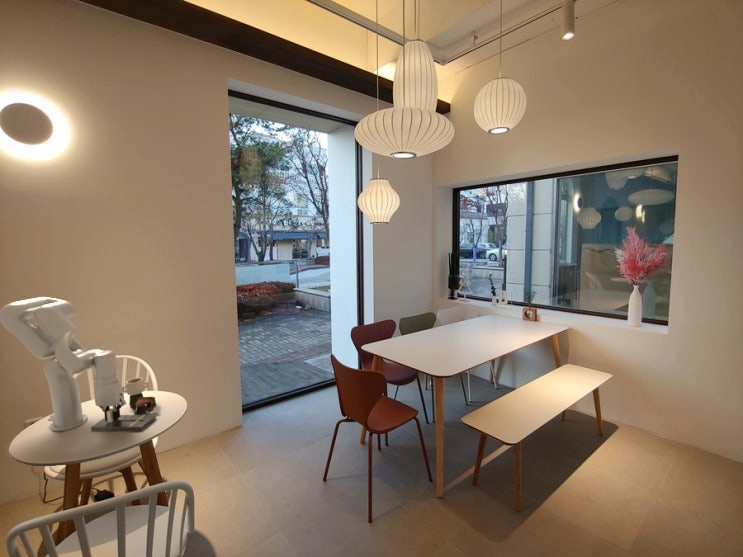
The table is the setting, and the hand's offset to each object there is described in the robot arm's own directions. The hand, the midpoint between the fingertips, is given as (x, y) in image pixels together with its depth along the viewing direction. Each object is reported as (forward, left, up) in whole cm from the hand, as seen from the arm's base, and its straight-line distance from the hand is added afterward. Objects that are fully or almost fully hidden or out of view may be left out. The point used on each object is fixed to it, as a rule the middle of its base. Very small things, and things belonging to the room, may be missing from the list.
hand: (112, 418), depth 157 cm
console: (+5, 0, -3) cm, 6 cm away
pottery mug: (+7, +12, -4) cm, 14 cm away
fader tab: (0, 0, -1) cm, 1 cm away
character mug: (-2, +18, -3) cm, 18 cm away
